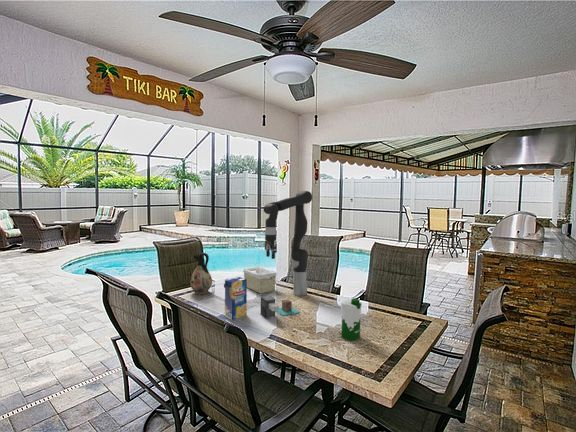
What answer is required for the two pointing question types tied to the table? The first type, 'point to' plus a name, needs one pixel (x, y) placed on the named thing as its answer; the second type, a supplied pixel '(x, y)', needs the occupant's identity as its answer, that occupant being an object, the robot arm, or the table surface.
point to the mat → (287, 312)
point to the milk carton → (351, 319)
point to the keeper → (264, 309)
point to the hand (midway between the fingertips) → (270, 257)
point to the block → (286, 305)
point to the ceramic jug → (201, 275)
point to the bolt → (272, 306)
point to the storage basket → (260, 279)
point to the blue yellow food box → (235, 298)
